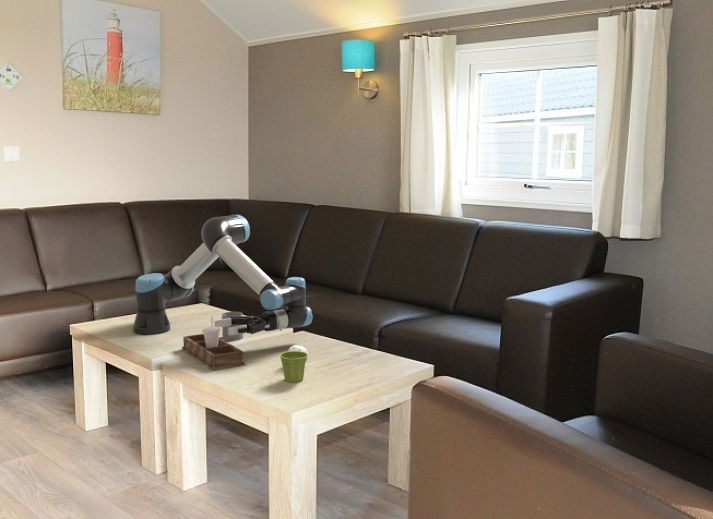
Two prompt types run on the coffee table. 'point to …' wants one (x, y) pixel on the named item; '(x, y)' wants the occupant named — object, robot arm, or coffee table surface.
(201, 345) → the caddy
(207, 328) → the smoothie
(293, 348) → the geometric ball
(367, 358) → the coffee table surface
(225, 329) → the cup
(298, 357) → the plant pot
